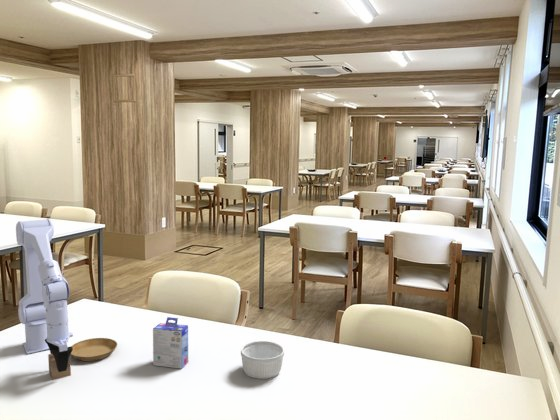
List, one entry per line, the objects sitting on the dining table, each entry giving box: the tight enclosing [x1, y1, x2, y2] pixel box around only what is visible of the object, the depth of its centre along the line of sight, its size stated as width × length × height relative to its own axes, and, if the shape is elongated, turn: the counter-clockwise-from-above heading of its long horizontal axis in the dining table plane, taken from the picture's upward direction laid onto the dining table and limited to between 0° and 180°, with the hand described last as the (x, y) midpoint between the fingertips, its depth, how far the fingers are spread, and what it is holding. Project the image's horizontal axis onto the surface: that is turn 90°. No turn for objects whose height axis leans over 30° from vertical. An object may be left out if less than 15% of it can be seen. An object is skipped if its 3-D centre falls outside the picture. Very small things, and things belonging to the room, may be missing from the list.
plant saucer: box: [70, 337, 118, 362], centre depth 154 cm, size 15×15×3 cm
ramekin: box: [240, 340, 285, 380], centre depth 143 cm, size 13×13×7 cm
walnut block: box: [47, 353, 72, 381], centre depth 139 cm, size 5×5×6 cm
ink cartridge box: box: [152, 316, 189, 369], centre depth 147 cm, size 10×6×14 cm, turn 78°
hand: (59, 365), depth 139 cm, fingers open, 7 cm apart
